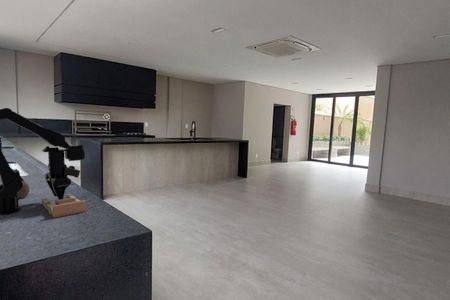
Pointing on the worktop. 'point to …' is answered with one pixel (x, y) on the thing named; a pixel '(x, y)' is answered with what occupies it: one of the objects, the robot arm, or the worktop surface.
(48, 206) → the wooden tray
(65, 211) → the end stop
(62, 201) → the keeper
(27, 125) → the robot arm
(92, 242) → the worktop surface
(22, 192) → the vase
